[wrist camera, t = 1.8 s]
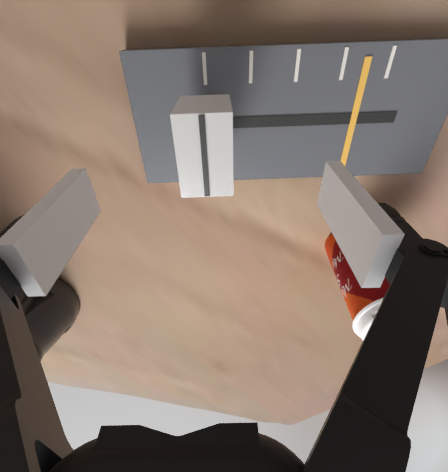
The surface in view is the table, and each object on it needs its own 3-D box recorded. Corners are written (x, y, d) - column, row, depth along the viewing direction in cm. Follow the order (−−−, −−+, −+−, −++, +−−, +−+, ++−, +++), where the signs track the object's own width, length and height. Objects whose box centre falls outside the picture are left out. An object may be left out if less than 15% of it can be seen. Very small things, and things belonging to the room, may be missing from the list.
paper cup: (306, 240, 38) (344, 329, 27) (358, 208, 35) (425, 293, 24) (334, 270, 42) (377, 359, 30) (383, 243, 39) (451, 331, 27)
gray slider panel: (150, 175, 32) (147, 183, 30) (125, 49, 24) (118, 51, 23) (411, 165, 32) (422, 173, 30) (463, 37, 24) (481, 38, 23)
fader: (190, 156, 28) (181, 198, 21) (182, 90, 24) (169, 114, 17) (229, 155, 28) (233, 196, 21) (228, 88, 24) (232, 112, 17)
